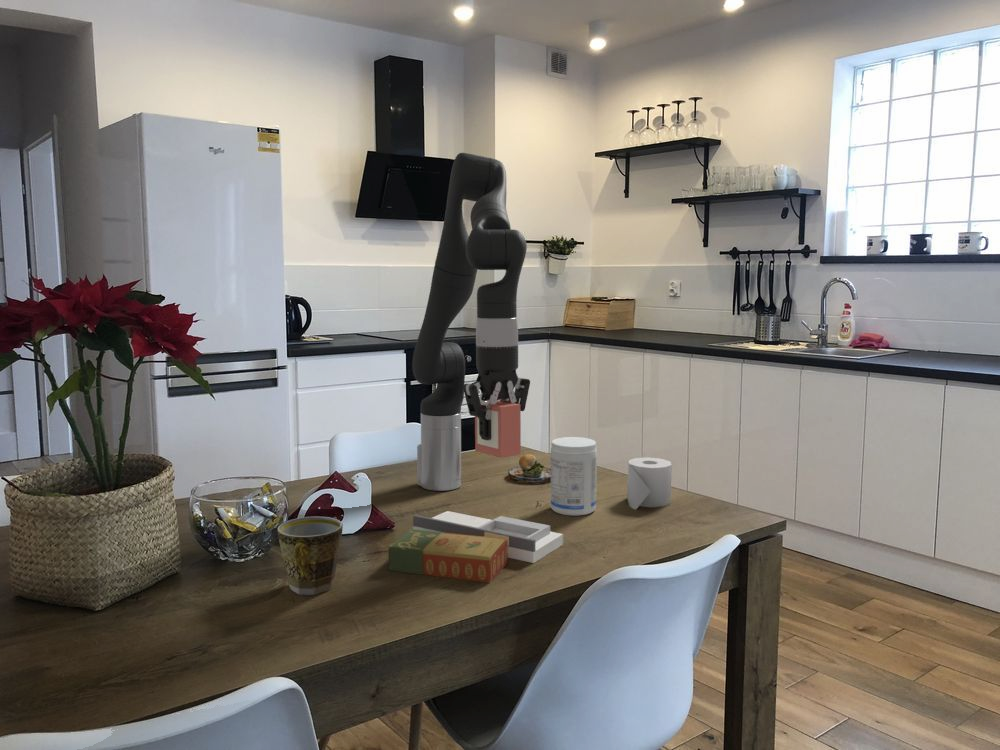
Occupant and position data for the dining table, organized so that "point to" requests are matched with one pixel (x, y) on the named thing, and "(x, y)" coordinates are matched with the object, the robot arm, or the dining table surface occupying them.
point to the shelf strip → (497, 532)
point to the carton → (449, 555)
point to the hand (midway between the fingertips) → (497, 437)
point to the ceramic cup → (310, 552)
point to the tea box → (501, 431)
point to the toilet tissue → (649, 482)
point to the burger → (529, 471)
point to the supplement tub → (573, 475)
